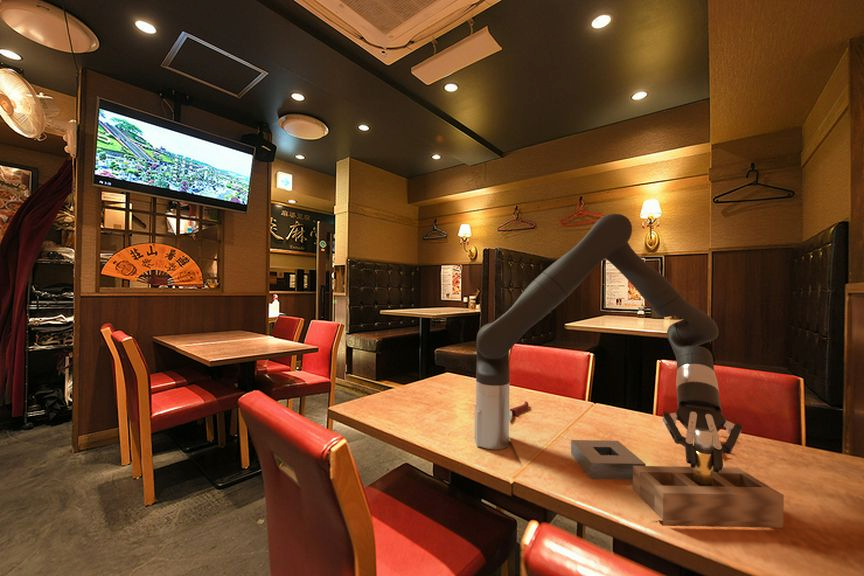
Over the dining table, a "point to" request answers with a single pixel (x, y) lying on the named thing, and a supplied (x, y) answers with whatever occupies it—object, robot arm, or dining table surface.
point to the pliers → (518, 410)
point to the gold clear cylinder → (703, 457)
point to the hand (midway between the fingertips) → (704, 468)
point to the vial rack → (708, 498)
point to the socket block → (605, 459)
